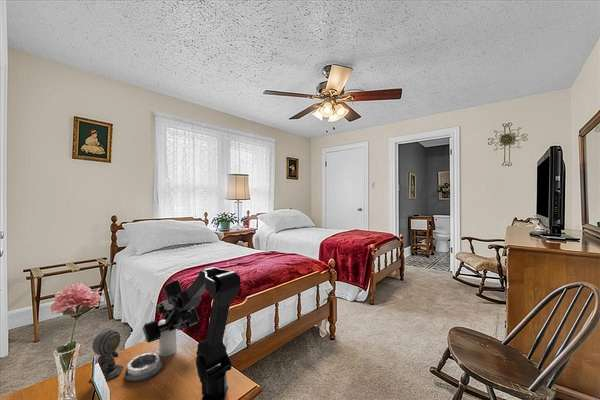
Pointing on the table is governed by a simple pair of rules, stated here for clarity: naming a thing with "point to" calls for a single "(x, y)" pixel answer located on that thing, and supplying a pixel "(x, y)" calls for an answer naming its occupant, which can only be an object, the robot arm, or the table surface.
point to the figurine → (107, 353)
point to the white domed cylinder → (167, 342)
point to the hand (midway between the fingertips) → (166, 333)
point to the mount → (143, 367)
